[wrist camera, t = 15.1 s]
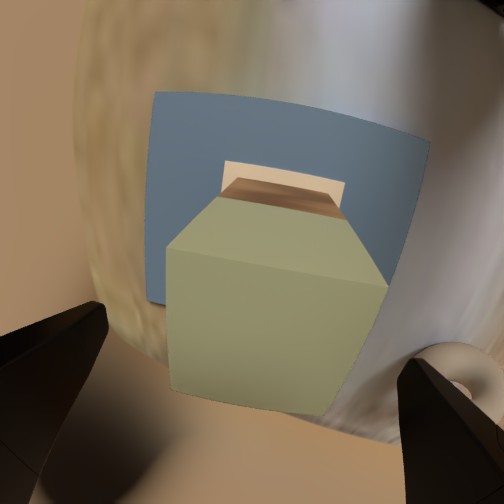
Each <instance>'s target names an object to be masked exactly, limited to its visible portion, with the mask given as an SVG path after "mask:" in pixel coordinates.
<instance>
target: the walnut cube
mask: <svg viewBox="0 0 504 504" xmlns="http://www.w3.org/2000/svg"><path fill="white" fill-rule="evenodd" d="M217 197H223V198H229V199H235V200H242V201H248V202H254V203H259V204H265V205H271V206H276V207H282V208H287V209H293V210H298V211H303V212H308V213H313V214H318V215H323V216H328V217H333V218H338V219H343V220H346V218H345V217H344V215H343V214H342V212H341V211H340V209H339V208H338V207H337V205H336V204H335V202H334V201H333V199H332V198H331V197H330V195H329V194H328V193H323V192H319V191H314V190H309V189H304V188H298V187H293V186H288V185H282V184H277V183H271V182H265V181H259V180H253V179H246V178H240V177H237V178H236V179H235V180H234V181H233V182H232V183H231V184H230V185H229V186H228V187H227V188H226V189H225V190H224V191H222V192H221V193H220V194H219V195H218V196H217Z"/></svg>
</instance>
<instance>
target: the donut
mask: <svg viewBox="0 0 504 504" xmlns="http://www.w3.org/2000/svg"><path fill="white" fill-rule="evenodd" d="M414 358H423V359H424V360H426V361H427V362H428V363H429V364H430V365H431V366H432V367H434V368H435V369H436V370H437V371H438V372H439V373H441V374H442V375H443V376H444V377H445V378H446V379H447V380H450V381H455V382H458V383H460V384H462V385H463V386H465V387H466V388H467V389H468V390H469V392H470V393H471V396H472V399H471V401H472V402H473V403H474V404H475V405H476V406H477V407H479V408H480V409H481V410H482V411H483V412H484V413H485V414H486V415H487V416H488V417H490V418H491V419H492V420H493V421H494V422H495V424H498V423H499V421H500V420H501V418H502V417H503V415H504V372H503V370H502V368H501V367H500V365H499V364H498V363H497V362H496V361H495V359H494V358H493V357H491V356H490V355H489V354H487V353H486V352H484V351H483V350H481V349H479V348H477V347H474V346H472V345H470V344H465V343H460V342H443V343H440V344H436V345H432V346H429V347H427V348H426V349H424V350H423V351H421V352H420V353H418V354H417V355H416V356H415V357H414Z"/></svg>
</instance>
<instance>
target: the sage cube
mask: <svg viewBox="0 0 504 504" xmlns="http://www.w3.org/2000/svg"><path fill="white" fill-rule="evenodd" d="M388 288H389V287H388V285H387V283H386V281H385V280H384V278H383V276H382V275H381V273H380V271H379V270H378V268H377V266H376V265H375V263H374V261H373V260H372V258H371V257H370V255H369V253H368V252H367V250H366V249H365V247H364V246H363V244H362V242H361V241H360V239H359V238H358V236H357V235H356V233H355V232H354V230H353V229H352V227H351V226H350V224H349V223H348V221H347V220H343V219H338V218H333V217H328V216H323V215H318V214H313V213H308V212H303V211H298V210H293V209H287V208H282V207H276V206H271V205H265V204H259V203H254V202H248V201H242V200H235V199H229V198H223V197H216V198H215V199H214V200H213V201H212V202H211V203H210V204H209V205H208V206H207V207H206V208H205V209H204V210H203V211H201V212H200V213H199V214H198V215H197V216H196V217H195V218H194V219H193V220H192V221H191V222H190V223H189V224H188V225H187V226H186V227H185V228H184V229H183V230H182V231H181V232H180V233H179V235H178V236H177V237H176V238H175V239H174V240H173V241H172V242H171V243H170V244H169V245H168V246H167V247H166V323H167V344H168V361H169V374H170V386H171V390H173V391H176V392H180V393H184V394H188V395H192V396H196V397H200V398H204V399H209V400H213V401H218V402H223V403H228V404H233V405H238V406H244V407H250V408H256V409H263V410H270V411H278V412H286V413H295V414H306V415H318V416H324V415H325V414H326V412H327V410H328V409H329V407H330V405H331V404H332V402H333V400H334V399H335V397H336V395H337V394H338V392H339V390H340V388H341V387H342V385H343V383H344V381H345V379H346V378H347V376H348V374H349V372H350V370H351V368H352V366H353V364H354V363H355V361H356V359H357V357H358V355H359V353H360V351H361V349H362V347H363V345H364V343H365V341H366V339H367V336H368V334H369V332H370V330H371V328H372V326H373V323H374V321H375V319H376V317H377V314H378V312H379V310H380V308H381V305H382V303H383V300H384V298H385V296H386V293H387V291H388Z"/></svg>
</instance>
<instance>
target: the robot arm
mask: <svg viewBox="0 0 504 504" xmlns="http://www.w3.org/2000/svg"><path fill="white" fill-rule="evenodd" d="M480 1H481V2H483V3H484V4H486V5H487V6H488V7H490V8H491V9H493V10H494V11H495V12H497V13H498V14H499V15H501V16H502V17H504V0H480ZM108 329H109V324H108V319H107V313H106V308H105V305H104V304H102V303H99V302H96V301H90V302H87V303H85V304H82V305H79V306H77V307H74V308H72V309H69V310H66V311H64V312H62V313H59V314H56V315H54V316H51V317H48V318H46V319H43V320H41V321H38V322H36V323H33V324H31V325H28V326H25V327H23V328H20V329H18V330H15V331H13V332H10V333H8V334H6V335H3V336H0V504H28V503H29V501H30V498H31V496H32V493H33V491H34V488H35V485H36V483H37V481H38V478H39V475H40V473H41V471H42V468H43V466H44V464H45V461H46V459H47V457H48V455H49V453H50V450H51V448H52V446H53V444H54V442H55V440H56V438H57V435H58V433H59V431H60V429H61V427H62V425H63V423H64V421H65V419H66V417H67V415H68V413H69V411H70V409H71V407H72V406H73V404H74V402H75V399H76V398H77V396H78V394H79V392H80V391H81V389H82V387H83V385H84V383H85V381H86V380H87V378H88V376H89V374H90V372H91V370H92V367H93V365H94V363H95V361H96V358H97V356H98V354H99V352H100V349H101V347H102V345H103V343H104V340H105V338H106V336H107V334H108ZM397 392H398V409H399V427H400V436H401V444H402V453H403V463H404V475H405V491H406V504H504V431H503V430H502V429H501V428H500V427H499V426H498V425H497V424H495V422H494V421H493V420H492V419H491V418H490V417H488V416H487V415H486V414H485V413H484V412H483V411H482V410H481V409H480V408H479V407H477V406H476V405H475V404H474V403H473V402H472V401H471V400H470V399H469V398H468V397H466V396H465V395H464V394H463V393H462V392H461V391H460V390H459V389H458V388H456V387H455V386H454V385H453V384H452V383H451V382H450V381H448V380H447V379H446V378H445V377H444V376H443V375H442V374H441V373H439V372H438V371H437V370H436V369H435V368H434V367H432V366H431V365H430V364H429V363H428V362H427V361H426V360H424V359H423V358H411V359H409V360H408V362H407V364H406V365H405V367H404V368H403V370H402V371H401V373H400V375H399V376H398V379H397Z"/></svg>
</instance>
